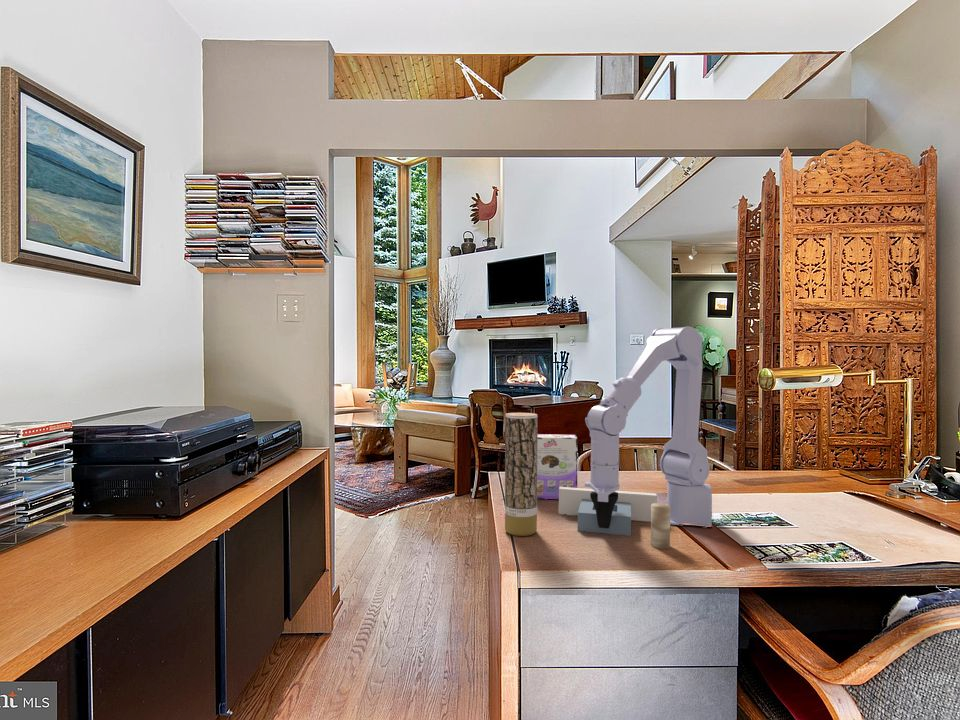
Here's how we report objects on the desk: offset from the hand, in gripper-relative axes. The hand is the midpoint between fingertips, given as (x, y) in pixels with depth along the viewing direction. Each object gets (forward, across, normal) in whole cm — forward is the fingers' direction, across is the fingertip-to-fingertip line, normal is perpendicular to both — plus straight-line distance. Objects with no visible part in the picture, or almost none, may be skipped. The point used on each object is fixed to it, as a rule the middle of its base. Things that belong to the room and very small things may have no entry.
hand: (603, 527), depth 114 cm
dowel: (+2, +4, +11) cm, 12 cm away
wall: (+1, -13, 0) cm, 13 cm away
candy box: (+2, -26, -15) cm, 30 cm away
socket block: (+2, -6, 0) cm, 7 cm away
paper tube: (+2, +3, -17) cm, 17 cm away
